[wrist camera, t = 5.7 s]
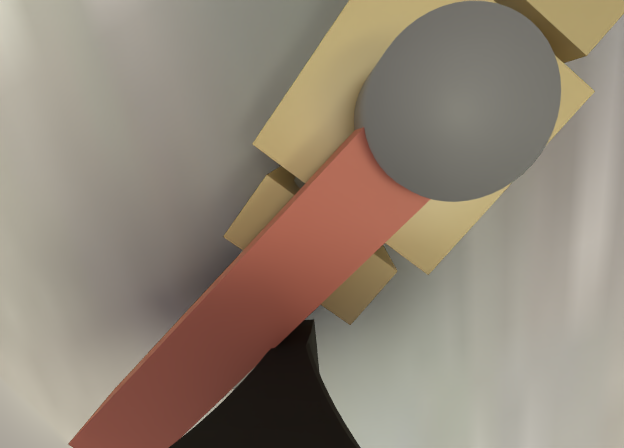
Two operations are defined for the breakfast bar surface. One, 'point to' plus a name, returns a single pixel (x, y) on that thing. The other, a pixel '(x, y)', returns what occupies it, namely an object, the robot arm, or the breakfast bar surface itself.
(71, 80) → the breakfast bar surface
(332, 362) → the breakfast bar surface
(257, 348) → the lever
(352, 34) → the valve pipe
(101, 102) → the breakfast bar surface
